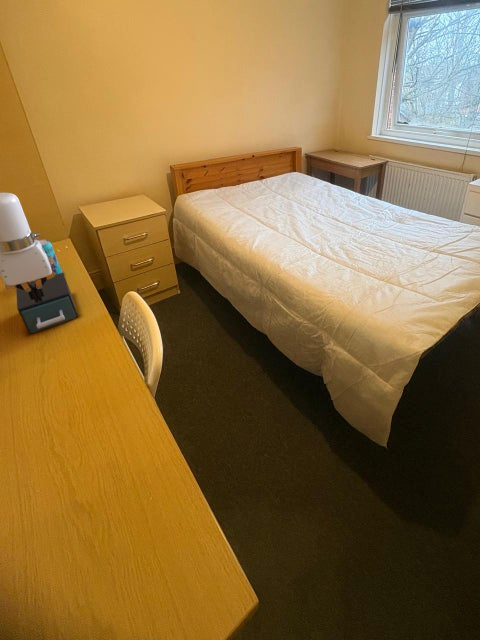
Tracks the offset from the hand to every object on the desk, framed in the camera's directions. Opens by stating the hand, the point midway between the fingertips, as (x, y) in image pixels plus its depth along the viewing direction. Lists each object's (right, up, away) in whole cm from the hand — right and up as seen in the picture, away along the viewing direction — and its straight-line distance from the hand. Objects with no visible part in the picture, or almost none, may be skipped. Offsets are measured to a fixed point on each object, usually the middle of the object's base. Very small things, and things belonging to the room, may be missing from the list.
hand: (38, 299), depth 89 cm
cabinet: (-8, -7, +15) cm, 18 cm away
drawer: (-5, -8, +12) cm, 15 cm away
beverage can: (-21, +2, +34) cm, 40 cm away
